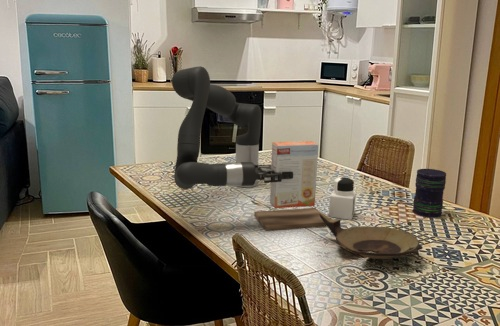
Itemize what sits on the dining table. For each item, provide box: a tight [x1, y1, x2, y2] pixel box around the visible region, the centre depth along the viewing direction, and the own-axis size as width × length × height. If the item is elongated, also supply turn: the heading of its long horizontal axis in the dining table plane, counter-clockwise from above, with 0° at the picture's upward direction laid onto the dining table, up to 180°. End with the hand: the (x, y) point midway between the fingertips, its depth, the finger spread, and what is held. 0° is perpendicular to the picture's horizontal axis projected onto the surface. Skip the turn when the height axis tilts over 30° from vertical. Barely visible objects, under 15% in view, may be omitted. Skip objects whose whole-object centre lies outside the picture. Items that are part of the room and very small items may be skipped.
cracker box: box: [269, 140, 319, 209], centre depth 162 cm, size 14×6×21 cm, turn 105°
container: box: [328, 176, 357, 221], centre depth 171 cm, size 8×8×13 cm
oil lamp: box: [320, 212, 424, 260], centre depth 144 cm, size 22×30×8 cm
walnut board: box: [253, 207, 327, 232], centre depth 166 cm, size 14×22×2 cm, turn 105°
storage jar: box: [412, 168, 447, 219], centre depth 175 cm, size 10×10×15 cm
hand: (289, 172), depth 162 cm, fingers closed on cracker box, 6 cm apart
